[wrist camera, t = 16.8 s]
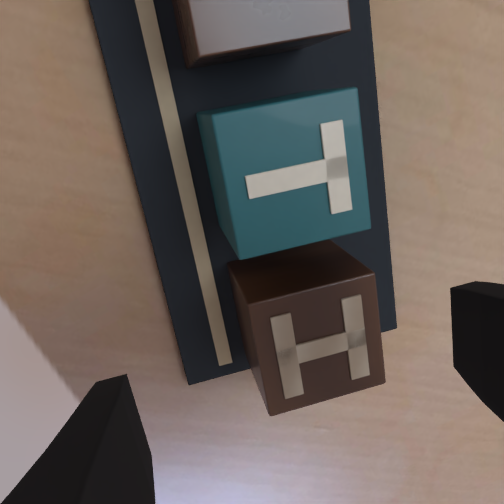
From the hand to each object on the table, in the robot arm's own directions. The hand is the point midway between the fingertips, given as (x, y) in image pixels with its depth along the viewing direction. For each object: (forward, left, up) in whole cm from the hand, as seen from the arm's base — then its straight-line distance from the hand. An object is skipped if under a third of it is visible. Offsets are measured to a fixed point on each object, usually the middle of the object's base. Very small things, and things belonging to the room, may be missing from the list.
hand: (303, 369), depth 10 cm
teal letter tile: (+2, +3, -10) cm, 11 cm away
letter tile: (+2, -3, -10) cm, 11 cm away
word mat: (+2, +3, -10) cm, 11 cm away
